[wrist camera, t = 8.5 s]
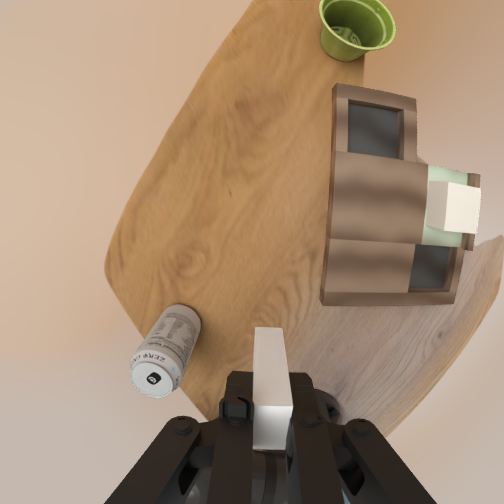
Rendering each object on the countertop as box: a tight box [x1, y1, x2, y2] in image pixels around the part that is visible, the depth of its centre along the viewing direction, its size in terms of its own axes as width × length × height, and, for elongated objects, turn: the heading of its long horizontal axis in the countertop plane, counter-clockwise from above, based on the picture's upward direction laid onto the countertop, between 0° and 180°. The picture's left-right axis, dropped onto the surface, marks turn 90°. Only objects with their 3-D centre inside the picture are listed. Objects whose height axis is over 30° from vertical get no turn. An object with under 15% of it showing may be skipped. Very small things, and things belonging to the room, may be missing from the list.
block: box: [425, 181, 481, 234], centre depth 33 cm, size 6×6×5 cm
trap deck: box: [319, 83, 480, 306], centre depth 36 cm, size 29×22×4 cm
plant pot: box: [319, 0, 396, 62], centre depth 29 cm, size 9×9×9 cm
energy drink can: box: [130, 304, 201, 398], centre depth 36 cm, size 6×6×15 cm
